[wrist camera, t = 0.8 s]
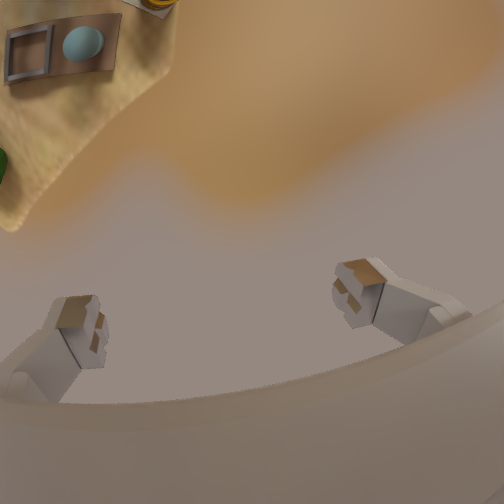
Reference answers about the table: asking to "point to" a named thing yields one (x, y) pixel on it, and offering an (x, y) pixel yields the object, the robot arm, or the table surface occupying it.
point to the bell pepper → (2, 163)
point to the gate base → (61, 47)
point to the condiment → (154, 6)
